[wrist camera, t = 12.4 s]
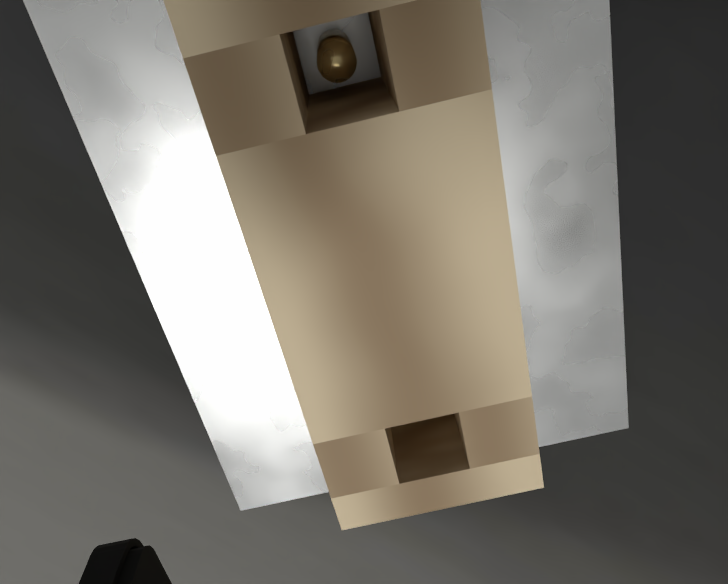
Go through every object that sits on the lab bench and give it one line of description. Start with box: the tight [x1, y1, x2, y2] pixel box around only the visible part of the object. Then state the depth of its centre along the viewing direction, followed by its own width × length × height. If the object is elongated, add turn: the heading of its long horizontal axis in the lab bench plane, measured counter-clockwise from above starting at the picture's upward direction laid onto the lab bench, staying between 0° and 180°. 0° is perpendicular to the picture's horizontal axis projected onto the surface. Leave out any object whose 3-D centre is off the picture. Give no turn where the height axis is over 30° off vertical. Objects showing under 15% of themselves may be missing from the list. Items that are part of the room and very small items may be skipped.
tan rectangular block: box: [163, 0, 544, 530], centre depth 19 cm, size 6×16×5 cm, turn 13°
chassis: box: [23, 0, 629, 511], centre depth 21 cm, size 16×22×4 cm
